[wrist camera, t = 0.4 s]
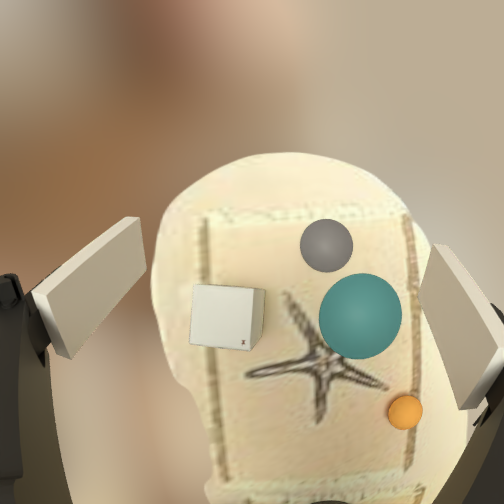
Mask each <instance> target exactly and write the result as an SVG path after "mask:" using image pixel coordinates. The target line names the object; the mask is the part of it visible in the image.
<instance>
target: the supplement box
mask: <svg viewBox="0 0 504 504" xmlns="http://www.w3.org/2000/svg"><path fill="white" fill-rule="evenodd" d="M264 301H265V289H258V288H248V287H239V286H228V285H211V284H194V285H193V300H192V311H191V323H190V335H189V344H192V345H199V346H207V347H215V348H222V349H233V350H242V351H251V350H252V348H253V347H254V346H255V344H256V343H257V342H258V340H259V339H260V338H261V336H262V326H263V315H264Z"/></svg>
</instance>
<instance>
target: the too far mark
mask: <svg viewBox="0 0 504 504" xmlns="http://www.w3.org/2000/svg"><path fill="white" fill-rule="evenodd" d="M300 249H301V253H302V256H303V258H304V260H305V261H306V263H307V264H308V265H309V266H310V267H312V268H313V269H315V270H317V271H321V272H333V271H336V270H339V269H340V268H342V267H343V266H344V265H345V264H346V263H347V262H348V261H349V259H350V257H351V255H352V251H353V242H352V238H351V235H350V233H349V231H348V230H347V229H346V228H345V227H344V226H343V225H342V224H341V223H339V222H337V221H335V220H331V219H322V220H318V221H315V222H313V223H312V224H310V225H309V226H308V227H307V228H306V229H305V231H304V233H303V235H302V237H301V242H300Z"/></svg>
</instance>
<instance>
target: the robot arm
mask: <svg viewBox="0 0 504 504" xmlns="http://www.w3.org/2000/svg"><path fill="white" fill-rule="evenodd" d="M146 270H147V268H146V261H145V254H144V247H143V240H142V232H141V225H140V218H139V217H125V218H124V219H122V220H121V221H119V222H118V223H116V224H115V225H114V226H112V227H111V228H110V229H108V230H107V231H106V232H104V233H103V234H102V235H100V236H99V237H98V238H96V239H95V240H94V241H92V242H91V243H90V244H88V245H87V246H86V247H85V248H83V249H82V250H81V251H79V252H78V253H77V254H76V255H74V256H73V257H72V258H71V259H69V260H68V261H67V262H66V263H64V264H63V265H61V266H59V267H58V268H57V269H55V270H54V271H53V272H52V273H51V274H49V275H48V276H47V277H46V278H45V280H42V281H41V282H40V283H39V284H37V285H36V286H35V287H34V288H33V289H32V290H30V291H29V292H28V293H27V294H26V295H25V296H24V293H23V290H22V287H21V284H20V281H19V278H18V276H17V275H16V274H11V273H10V274H4V275H1V276H0V504H73V503H72V500H71V496H70V492H69V488H68V484H67V480H66V476H65V472H64V468H63V463H62V458H61V453H60V448H59V443H58V436H57V430H56V423H55V416H54V409H53V399H52V389H51V377H50V363H49V353H48V351H47V348H46V347H47V346H48V345H49V344H50V343H52V345H53V347H54V349H55V352H56V354H58V355H60V356H63V357H66V358H68V359H72V358H73V357H74V356H75V355H76V353H77V352H78V351H79V349H80V348H81V347H82V346H83V344H84V343H85V342H86V341H87V340H88V338H89V337H90V336H91V335H92V333H93V332H94V331H95V330H96V328H97V327H98V326H99V325H100V323H101V322H102V321H103V320H104V319H105V317H106V316H107V315H108V314H109V313H110V311H111V310H112V309H113V308H114V307H115V306H116V304H117V303H118V302H119V301H120V300H121V299H122V297H123V296H124V295H125V294H126V293H127V292H128V290H129V289H130V288H131V287H132V286H133V285H134V284H135V282H136V281H137V280H138V279H139V278H140V277H141V275H142V274H143V273H144V272H145V271H146ZM418 300H419V302H420V304H421V307H422V309H423V311H424V314H425V316H426V319H427V321H428V324H429V326H430V329H431V331H432V334H433V336H434V339H435V341H436V344H437V347H438V349H439V352H440V355H441V357H442V360H443V363H444V366H445V369H446V372H447V375H448V377H449V380H450V383H451V387H452V390H453V393H454V396H455V399H456V403H457V406H458V409H459V410H466V409H475V408H477V407H478V406H479V404H480V403H481V401H482V400H483V399H484V397H485V396H486V399H487V402H488V406H487V407H486V409H485V410H484V411H483V412H482V414H481V415H480V416H479V418H478V419H477V420H476V421H475V423H474V424H473V426H476V424H477V423H478V424H477V426H476V428H475V431H474V433H473V435H472V437H471V439H470V441H469V443H468V445H467V446H466V448H465V450H464V452H463V454H462V456H461V458H460V459H459V461H458V463H457V465H456V466H455V468H454V470H453V472H452V473H451V475H450V477H449V478H448V480H447V481H446V483H445V485H444V486H443V488H442V489H441V491H440V492H439V494H438V496H437V497H436V498H435V500H434V501H433V503H432V504H504V315H503V313H502V312H501V311H500V310H499V309H498V308H497V307H496V306H495V305H493V304H492V303H489V302H488V300H487V298H486V297H485V296H484V294H483V293H482V291H481V290H480V288H479V287H478V285H477V284H476V283H475V281H474V280H473V279H472V278H471V276H470V275H469V273H468V272H467V270H466V269H465V268H464V267H463V265H462V264H461V262H460V261H459V260H458V259H457V257H456V256H455V255H454V253H453V252H452V251H451V249H450V248H449V247H448V246H447V245H439V244H433V245H432V249H431V252H430V256H429V260H428V264H427V267H426V271H425V274H424V277H423V281H422V284H421V287H420V290H419V294H418ZM312 504H348V503H344V502H339V501H323V502H317V503H312Z"/></svg>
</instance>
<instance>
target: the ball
mask: <svg viewBox="0 0 504 504" xmlns="http://www.w3.org/2000/svg"><path fill="white" fill-rule="evenodd" d="M422 412H423V410H422V405H421V403H420V401H419V400H418V399H416V398H415V397H412V396H403V397H400V398H398V399H397V400H395V401H394V402H393V403H392V405H391V407H390V409H389V413H388V417H389V421H390V423H391V424H392V425H393V426H394V427H395V428H397V429H400V430H406V429H410V428H412V427H414V426H415V425H416V424H417V423H418V422H419V421H420V419H421V417H422Z"/></svg>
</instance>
